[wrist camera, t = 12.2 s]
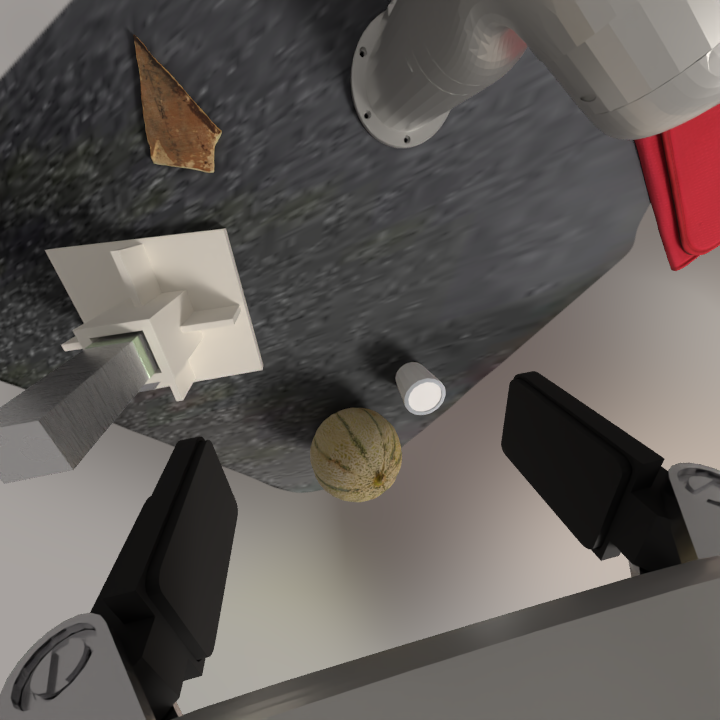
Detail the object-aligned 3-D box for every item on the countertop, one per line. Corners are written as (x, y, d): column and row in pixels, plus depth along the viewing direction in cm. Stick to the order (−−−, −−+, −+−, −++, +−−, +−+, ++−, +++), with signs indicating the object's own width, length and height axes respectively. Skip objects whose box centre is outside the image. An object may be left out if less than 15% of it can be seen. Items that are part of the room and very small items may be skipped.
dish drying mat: (665, 271, 57) (688, 275, 53) (596, 20, 38) (624, 3, 35) (746, 208, 54) (776, 208, 51) (714, -93, 36) (757, -123, 33)
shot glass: (385, 388, 55) (397, 410, 49) (401, 354, 53) (416, 373, 47) (418, 396, 58) (433, 419, 51) (435, 364, 55) (453, 384, 49)
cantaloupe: (291, 434, 56) (291, 505, 43) (345, 376, 53) (362, 433, 40) (352, 467, 62) (369, 537, 49) (403, 416, 59) (435, 477, 46)
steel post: (115, 326, 34) (-41, 434, 18) (156, 320, 34) (38, 419, 18) (132, 360, 36) (3, 484, 20) (170, 354, 36) (74, 470, 20)
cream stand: (53, 248, 37) (-58, 268, 26) (225, 228, 40) (197, 238, 28) (126, 389, 47) (70, 451, 35) (263, 365, 49) (253, 416, 37)
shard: (139, 40, 32) (131, 32, 30) (220, 60, 34) (216, 52, 32) (154, 164, 36) (148, 162, 35) (225, 175, 38) (222, 174, 36)
